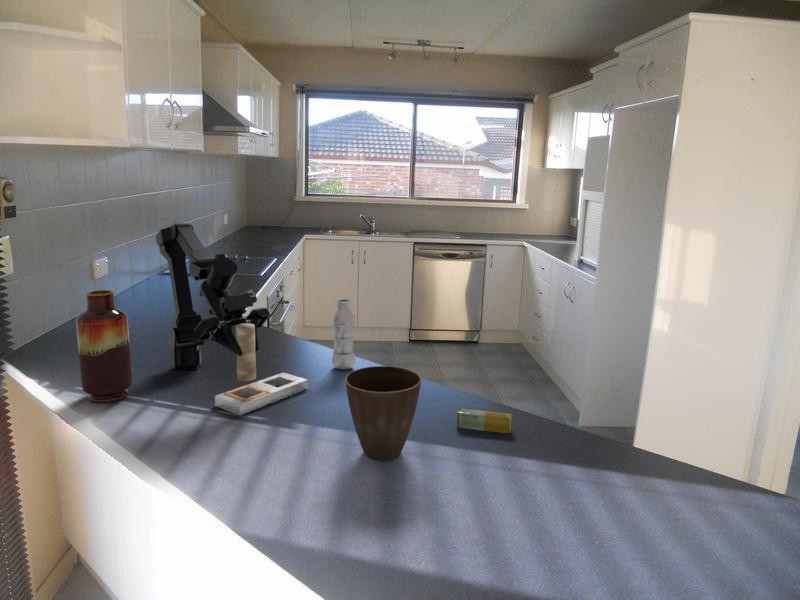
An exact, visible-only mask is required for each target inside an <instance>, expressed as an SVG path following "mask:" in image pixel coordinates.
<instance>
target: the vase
mask: <svg viewBox="0 0 800 600" xmlns="http://www.w3.org/2000/svg"><path fill="white" fill-rule="evenodd" d="M114 295H115V294H114V291H113V290H110V289H98V290H91V291H88V292H86V293H85V297H86V299H85V300H86V309H85V310H84V311H81V312H80V313H79V314H78V316H77V317H76V319H75V325H76V326H75V328H76V339H77V349H78V360H79V370H80V379H81V387H82V388H81V389H82V391H83V392H84V393H86V394H88V396H87V400H88V401H89V402H90V403H94V404H109V403H115V402H118V401H119V402H120V401H121V400H124V399H126V398H127V397H128V396H129V395H130V394H129V390H128V389H129V388H130V387H132V384H133V375H132V373H133V372H132V360H131V347H130V344H131V343H130V335H129V333H130V332H129V322H128V315H127V314H126V313H125V312H124V311H123V310H122V309H120V308H117V307H116V305H115V296H114ZM125 397H126V398H125Z"/></svg>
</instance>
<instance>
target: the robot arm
mask: <svg viewBox="0 0 800 600" xmlns="http://www.w3.org/2000/svg"><path fill="white" fill-rule="evenodd" d="M155 241H156V244H157V246H158V248H159V252H160V254H161V256H162V257H164V259H165V260H166V261H167V263H168V270H169V277H170V284H171V289H172V296H173V303H174V309H175V314H174V316H173V319H172V320H171V329H170V330H169V334H168V336H167V344H168V347H170V348H171V349H172V350H173V359H174V366H173V367H172V370H173V371H178V370H179V371H180V370H181V371H183V370H184V371H187V370H190V371H192V370H198V369H199V367H200V366H201V364H202V362H203V360H202V348H200V346H204V345H205V341H209V338H210V337H211V336H212V338H211V339H210V341H211V342H213V343H214V342H215V343H217V344H219V345H221V346H223V347H225V349H228V350H229V351H231V352H232V353H234V354H235V355H236V354H237V355H238V356H241V355H242V351H241V348H240V347H239V345H238V343H237V341H236V337H235V335H234V334H233V329H232V328H235V326H236V325H237V324H242V323H250V324H254V325H255V353H257V352H259V350H260V346H259V339H258V333H257V332H258V330H257V329H260V328H262V327H263V326H264V325H265V323H266V322H267V321H268V320H269V318H270V317H271V316H272V315H271V313H270V311H269V310H268V308H267V307H259V308H254V309H251V311H250V312H249V313H248V315H246V316H243V315H244V314H246V313H247V309H248V308H252V307H254V304H255V303H257V302H258V298H257V295H256V293H255V291H253V289H250V290H249V289H248V290H246V291H244V292H242V293H241V294H236V295H234V294H233V295H231V293H230V291H229V289H228V288H229V287H231V285H232V282H233V280H234V278H235V276H236V273H237V272H238V265H237V263H235V261H234V260H233V259H231V258H229V257H226V255H225V253H216V252H213V251H211V250H207V248H206V247H205V245H204V244H203V243H202V241H201V240H200V238H199V237H198V235H197V234H196V232H195V231H194V226H193V224H191V223H187V222H185V223H174V224H172V225H170V226H168V227H165V228H161V229H160V230H159V231H158V232H157V233H156V236H155ZM186 259H188V260H189V264H188V267H187V261H186ZM188 271H189V272H188ZM189 275H190V276H191V277H192V278H193V280H194V281H202V283H201V285H200V288H199V297H204V299H205V302H206V303H207V305H208V306H209V308H210V309H209V311H208V313H209V315H210V316H213V315H214V316H213V317H210V318H203V319H202V316H201V314H199V313H197V312H196V311H195V310H194V305H193V300H192V292H191V286H190V285H191V284H190V279H189ZM210 333H211V334H210Z"/></svg>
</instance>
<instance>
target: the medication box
mask: <svg viewBox="0 0 800 600" xmlns="http://www.w3.org/2000/svg"><path fill="white" fill-rule="evenodd" d="M456 415H457V416H456V428H459V429H467V430H475V431H483V432H484V431H485V432H493V433H501V434H502V433H503V434H511V427H512V413H508V412H506V413H505V412H497V411H489V410H488V411H487V410H480V409H470V408H462V407H461V408H460V407H458V409H457V412H456Z"/></svg>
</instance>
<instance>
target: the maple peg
mask: <svg viewBox="0 0 800 600" xmlns="http://www.w3.org/2000/svg"><path fill="white" fill-rule="evenodd" d="M234 328H235V339H236V341H237V343H238V345H239V347H240V348H241V351H242V355H241V356H238V355H237V354H235V355H236V379H237V380H238V381H240V382H250V381H254V380H256V379H257V362H256V360H257V359H256V353H257V352H256V351H255V325H254V324H250V323H242V324H237V325H236V326H235V327H234Z"/></svg>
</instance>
